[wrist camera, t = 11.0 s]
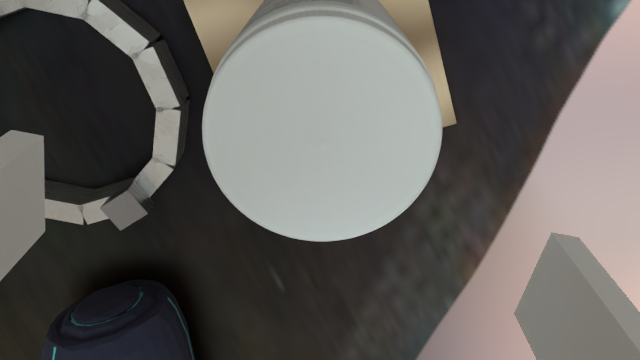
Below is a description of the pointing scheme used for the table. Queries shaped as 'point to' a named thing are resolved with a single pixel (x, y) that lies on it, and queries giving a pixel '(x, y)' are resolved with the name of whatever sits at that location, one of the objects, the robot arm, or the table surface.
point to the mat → (401, 3)
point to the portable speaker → (121, 326)
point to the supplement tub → (321, 119)
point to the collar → (166, 93)
